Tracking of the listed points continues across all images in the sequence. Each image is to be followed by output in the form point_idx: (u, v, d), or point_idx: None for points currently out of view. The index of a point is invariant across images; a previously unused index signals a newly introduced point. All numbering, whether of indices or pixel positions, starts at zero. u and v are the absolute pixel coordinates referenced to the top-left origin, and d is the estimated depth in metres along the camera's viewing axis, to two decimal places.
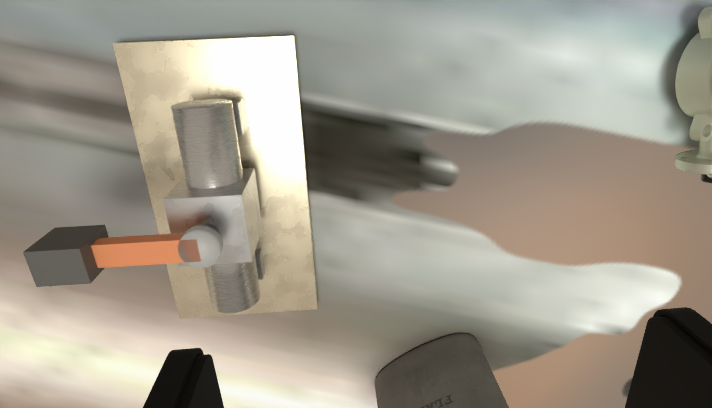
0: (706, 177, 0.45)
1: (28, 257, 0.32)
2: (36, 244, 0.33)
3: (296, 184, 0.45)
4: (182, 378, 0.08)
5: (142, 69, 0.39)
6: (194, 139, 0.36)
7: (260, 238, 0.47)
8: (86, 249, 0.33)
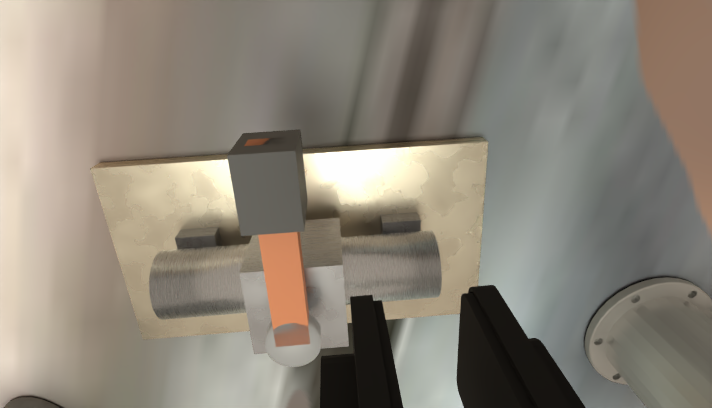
0: None
1: (286, 156, 0.19)
2: (297, 149, 0.20)
3: None
4: (374, 315, 0.09)
5: (457, 169, 0.34)
6: (407, 280, 0.30)
7: None
8: None
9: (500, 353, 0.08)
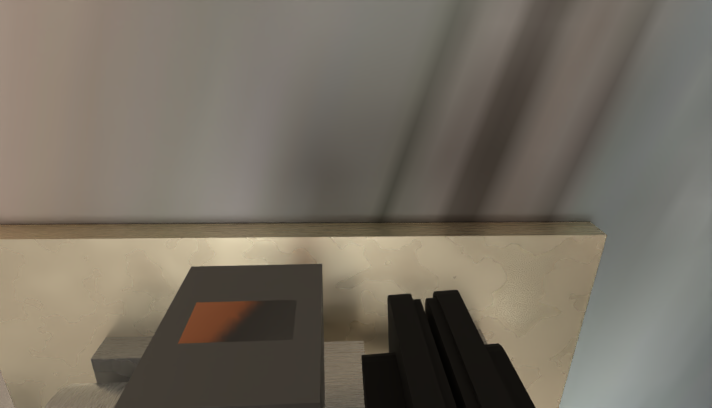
0: None
1: None
2: None
3: None
4: (415, 314, 0.09)
5: (552, 272, 0.22)
6: None
7: None
8: None
9: (455, 359, 0.08)
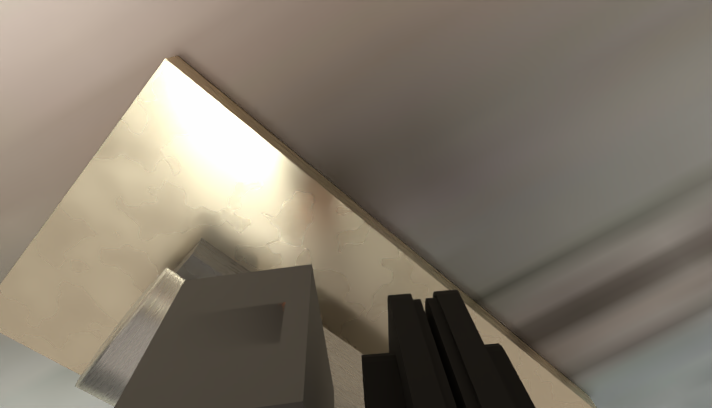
0: None
1: None
2: (309, 361, 0.08)
3: None
4: (416, 314, 0.09)
5: None
6: None
7: None
8: None
9: (455, 359, 0.08)
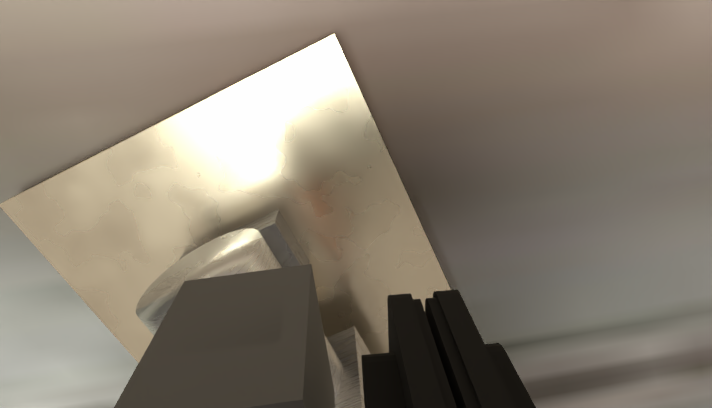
0: None
1: None
2: (308, 360, 0.08)
3: None
4: (416, 314, 0.09)
5: None
6: None
7: None
8: None
9: (455, 359, 0.08)
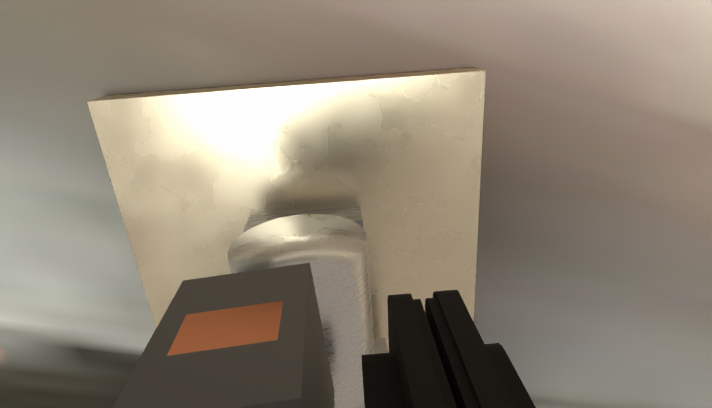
0: None
1: None
2: (307, 359, 0.08)
3: None
4: (416, 314, 0.09)
5: None
6: None
7: None
8: None
9: (455, 360, 0.08)
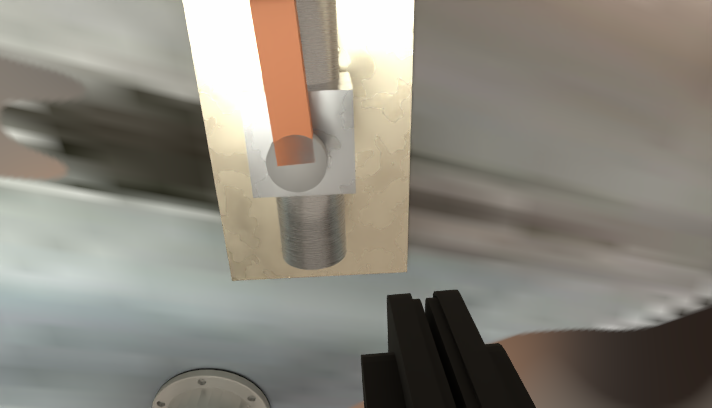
0: None
1: None
2: None
3: (218, 126, 0.33)
4: (415, 314, 0.09)
5: (384, 251, 0.39)
6: (316, 240, 0.31)
7: None
8: None
9: (456, 359, 0.08)
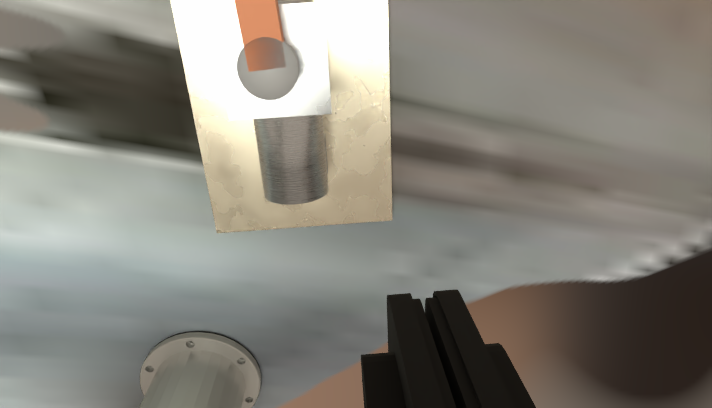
0: None
1: None
2: None
3: (197, 68, 0.34)
4: (415, 314, 0.09)
5: (368, 198, 0.39)
6: (296, 172, 0.31)
7: None
8: None
9: (456, 359, 0.08)
